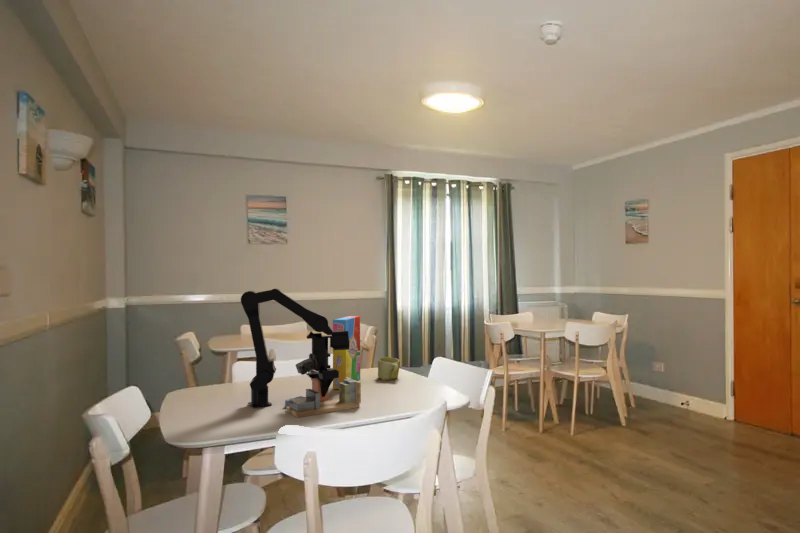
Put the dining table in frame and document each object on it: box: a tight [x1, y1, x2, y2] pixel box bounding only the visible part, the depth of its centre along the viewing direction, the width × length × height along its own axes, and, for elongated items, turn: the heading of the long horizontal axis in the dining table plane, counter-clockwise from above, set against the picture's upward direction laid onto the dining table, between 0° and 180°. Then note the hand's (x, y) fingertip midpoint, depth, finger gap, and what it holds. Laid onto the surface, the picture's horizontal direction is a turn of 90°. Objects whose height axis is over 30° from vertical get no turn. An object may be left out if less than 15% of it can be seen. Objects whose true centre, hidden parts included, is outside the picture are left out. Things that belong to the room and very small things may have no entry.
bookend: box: [289, 388, 320, 412], centre depth 165 cm, size 8×8×5 cm
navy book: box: [284, 395, 304, 408], centre depth 173 cm, size 5×7×2 cm
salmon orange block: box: [311, 378, 330, 401], centre depth 178 cm, size 5×4×8 cm
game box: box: [332, 315, 361, 390], centre depth 206 cm, size 21×6×27 cm, turn 168°
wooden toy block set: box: [285, 377, 362, 418], centre depth 169 cm, size 10×22×8 cm, turn 123°
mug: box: [377, 356, 401, 381], centre depth 217 cm, size 12×10×10 cm
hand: (320, 395), depth 178 cm, fingers closed on salmon orange block, 5 cm apart
